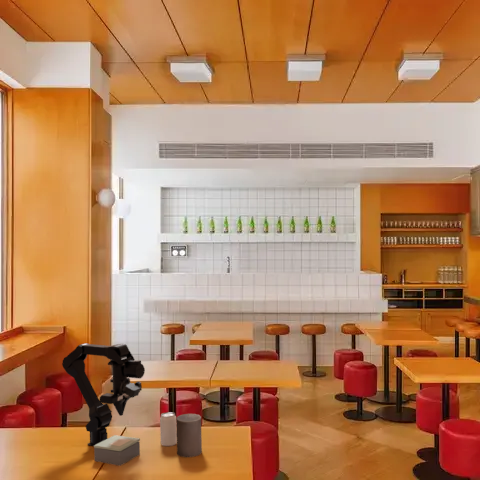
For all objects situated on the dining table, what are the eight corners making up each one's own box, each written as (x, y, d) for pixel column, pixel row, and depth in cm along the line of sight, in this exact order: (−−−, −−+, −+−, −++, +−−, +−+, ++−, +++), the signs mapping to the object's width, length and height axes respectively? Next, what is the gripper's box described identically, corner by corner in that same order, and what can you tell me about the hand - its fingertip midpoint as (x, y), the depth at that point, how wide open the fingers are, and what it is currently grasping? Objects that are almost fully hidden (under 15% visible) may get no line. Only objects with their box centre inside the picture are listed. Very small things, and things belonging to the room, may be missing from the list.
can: (174, 447, 229) (173, 417, 229) (158, 446, 230) (157, 416, 230) (178, 441, 235) (178, 412, 235) (163, 440, 236) (163, 411, 236)
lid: (94, 447, 216) (93, 445, 216) (114, 437, 227) (114, 434, 227) (119, 451, 211) (119, 448, 211) (140, 440, 222) (139, 438, 222)
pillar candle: (171, 453, 222) (170, 414, 222) (190, 446, 229) (189, 408, 229) (188, 459, 215) (187, 419, 215) (207, 452, 222) (206, 413, 222)
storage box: (94, 461, 216) (94, 447, 216) (115, 450, 227) (114, 437, 227) (120, 465, 211) (119, 452, 211) (139, 454, 222) (139, 441, 222)
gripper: (121, 383, 217) (122, 424, 217) (150, 372, 234) (151, 411, 234) (98, 381, 222) (99, 421, 222) (128, 370, 239) (129, 408, 239)
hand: (121, 415), depth 229 cm, fingers closed
